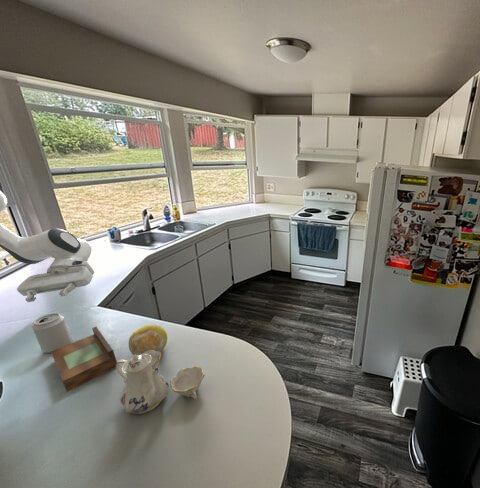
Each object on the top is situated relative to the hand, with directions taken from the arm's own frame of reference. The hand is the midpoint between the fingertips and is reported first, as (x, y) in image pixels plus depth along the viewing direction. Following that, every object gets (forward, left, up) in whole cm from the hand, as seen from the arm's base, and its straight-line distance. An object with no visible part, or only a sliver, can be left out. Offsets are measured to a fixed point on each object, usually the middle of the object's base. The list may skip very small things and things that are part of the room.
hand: (46, 297), depth 87 cm
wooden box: (+2, -23, -16) cm, 29 cm away
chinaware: (+12, -52, -17) cm, 56 cm away
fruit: (+17, -34, -17) cm, 42 cm away
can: (-2, -6, -17) cm, 18 cm away
